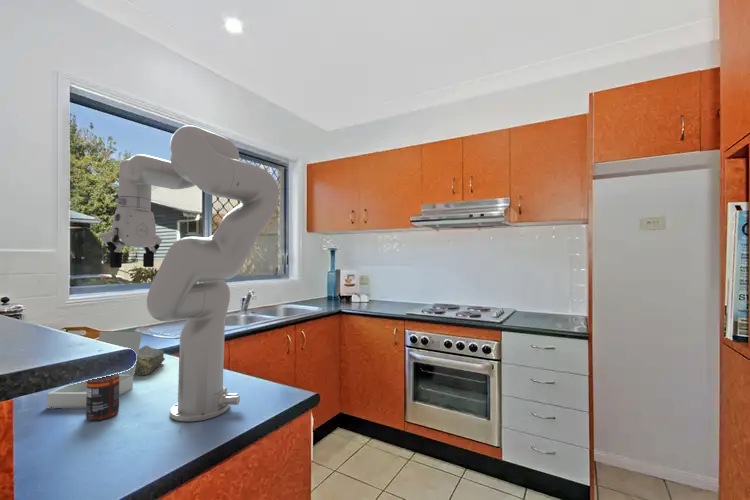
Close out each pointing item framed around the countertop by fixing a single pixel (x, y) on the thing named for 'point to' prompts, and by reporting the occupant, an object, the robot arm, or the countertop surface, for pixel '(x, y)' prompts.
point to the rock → (148, 360)
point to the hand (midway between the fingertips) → (132, 267)
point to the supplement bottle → (102, 397)
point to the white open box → (77, 392)
